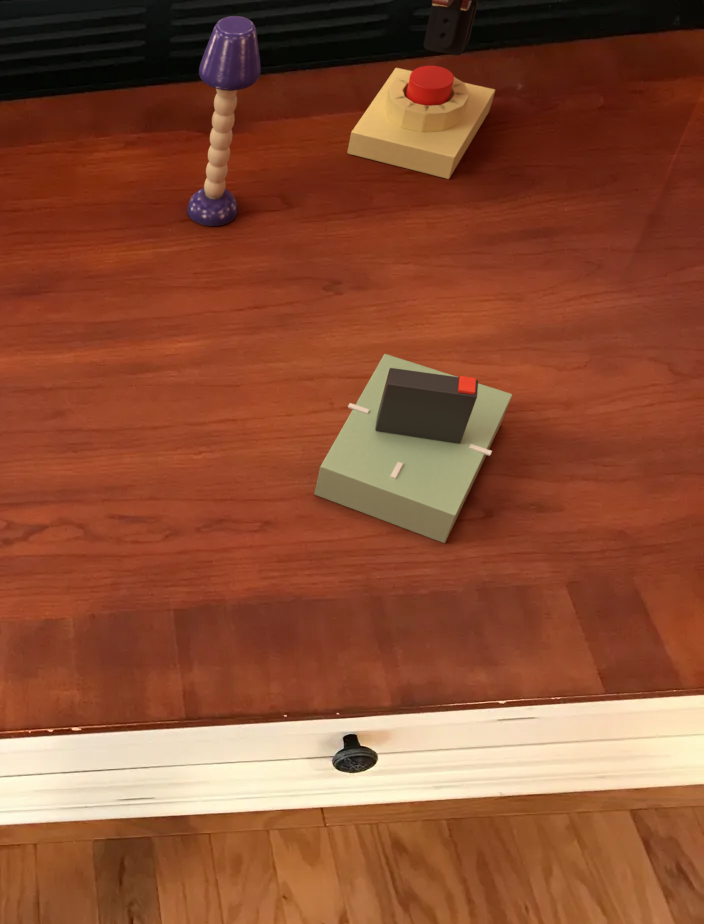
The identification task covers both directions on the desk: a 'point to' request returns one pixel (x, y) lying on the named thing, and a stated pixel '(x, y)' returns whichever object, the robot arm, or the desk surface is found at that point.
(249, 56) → the toy lamp
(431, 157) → the button block
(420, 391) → the black rectangular block
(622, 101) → the desk surface
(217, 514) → the desk surface
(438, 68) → the button
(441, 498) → the panel
